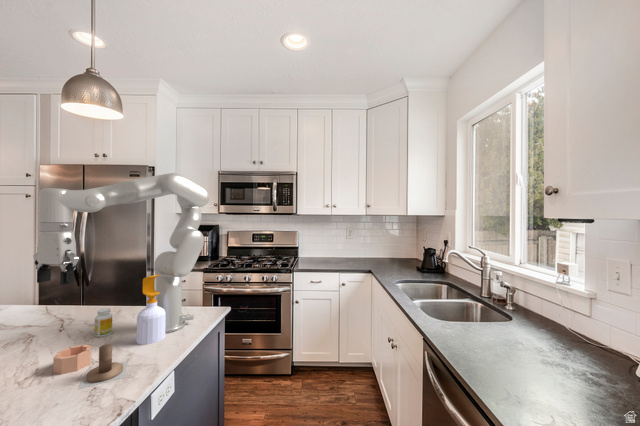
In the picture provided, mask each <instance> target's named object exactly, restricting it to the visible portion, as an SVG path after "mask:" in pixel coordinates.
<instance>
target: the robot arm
mask: <svg viewBox="0 0 640 426" xmlns="http://www.w3.org/2000/svg"><path fill="white" fill-rule="evenodd" d="M38 195H39V197H38V198H39V199H38V234H39V235H38V239H37V246H36V248H37V249H36V253H34V254H33V255H32V256H33V259H34V265H35V270H36V283H37V284H40V283H45V282H50V281H51V279H52V278H51V277H52V276H51V275H52V268H51V266H59V267H60V269H61V271H60V279H59V280H60V281H59V282H60V285H61V286H66V285H69V284H73V283H74V281H75V279H74V278H75V274H74V273H75V270H76V267H77V266H78V262H79V260H80V257H79V256H78V255H77V244H76V238H75V237H76V236H75V233H74V231H73V228H74V225H73V223H74V221H73V220H74V211H75V212H78V213H95V212H99V211H101V210H102V209H103V208H106V207H112V206H115V205H116V206H117V205H123V204H125V205H126V204H134V203H140V202H143V201H147V200H152V199H155V198H161V197H164V196H169V195H175V196H176V200H177V203H178V205H179V207H180V211H181V215H180V217H179V220H178V222H177V224H176V225H175V228H174V229H173V232H172V233H171V236H170V237H169V244H170V246H171V247H172V248H173V249H175V251H171V250H168V251H163V252H161V253H159V254H158V255H157V257H155V260H154V263H153V266H154V267H153V269H154V274H155V275H160V276H157V277H155V291H157V292H160V294H157V295H156V296H155V299H156V300H157V306H159V307H162V308H163V309H164V310H165V312H166V323H165V334H167V333H172V332H176V331H178V330H180V329H182V328H184V327H185V326H186V321H191V320H194V314H191V313H187V314H183V312H182V311H183V310H182V304H183V303H182V302H183V301H182V299H183V298H182V295H183V282H182V281H183V279H182V278H184V277H187V276H188V275H189V274H190V273H191V272H192V270H193V269H194V267H195V265H196V263H197V260H198V259H199V257H200V254H201V251H202V250H203V247H204V245H205V244H204V243H205V236H204V235H203V233H202V232H201V230H198V229H199V227H200V225H201V223H202V218H203V216H202V211H201V208H203V207H205V206H206V205H207V204H208V203H209V201H210V194H209V192H208V191H207V190H206V188H204V187H202V186H201V185H199V184H198V183H195V182H193V181H192V180H191V179H188V178H187V177H185V176H183V175H181V174H179V173H177V172H176V173H175V172H174V173H173V172H171V173H164V174H158V175H152V176H148V177H141V178H137V179H136V178H134V179H129V180H125V181H121V182H118V183H114V184H109V185H104V186H100V187H99V186H98V187H93V188H87V189H66V188H56V187H54V188H52V187H48V188H47V187H46V188H45V187H44V188H42V189H41V190H40V191H39V193H38ZM190 314H191V315H190Z"/></svg>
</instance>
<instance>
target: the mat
mask: <svg viewBox="0 0 640 426" xmlns="http://www.w3.org/2000/svg"><path fill="white" fill-rule="evenodd" d="M128 362H129V360H125V361H121V362H120V363H122V364H123V371H122V372H121V373H120V374H119V375H117V376H116V377H114V378H112V379H109V380H107V381H103V382H98V383H89V382H87V381H86V375H87V373H88V372H89V371H90V370H92V369H93V368H90V369H87V370H86V371H85V373H84V375H83V378H82V380H81V382H80V384H79V386H78V388H77V390H81V389H85V388H90V387H93V386H98V385H100V384H105V383H109V382H113V381H117V380H121V379H125V377H126V372H127V366H128Z"/></svg>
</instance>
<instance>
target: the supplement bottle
mask: <svg viewBox="0 0 640 426" xmlns="http://www.w3.org/2000/svg"><path fill="white" fill-rule="evenodd" d="M111 311H112V310H111V308H110V307H105V308H100V309H98V310H97V311H96V312H97V313H96V314H97V315H96V316H95V318H94V333H93V335H94V337H96V338H103V337H106V336H109V335H111V334H112V332H113V314H112V313H111Z"/></svg>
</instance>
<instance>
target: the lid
mask: <svg viewBox="0 0 640 426" xmlns="http://www.w3.org/2000/svg"><path fill="white" fill-rule="evenodd" d="M91 369H92V370H90V369H89V370H90V371H89V372H88V373H87V375H86V381H87V382H89V383H98V382H103V381H107V380H109V379H112V378H114V377H116V376H117V375H119V374H120V373H121V372H122V371H123V364H122V363H121V362H115V361H114V362H113V344H112V343H106V344H102V345H100V346H99V347H98V366H96V367H94V368H91Z"/></svg>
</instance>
